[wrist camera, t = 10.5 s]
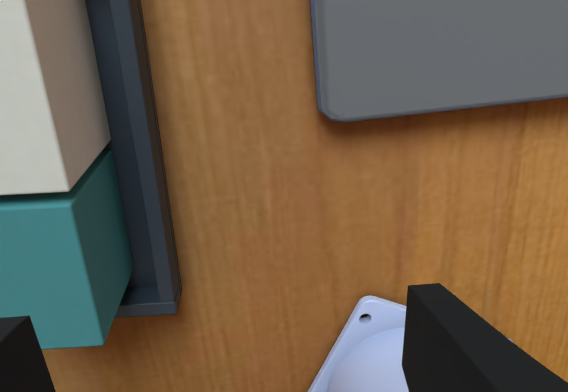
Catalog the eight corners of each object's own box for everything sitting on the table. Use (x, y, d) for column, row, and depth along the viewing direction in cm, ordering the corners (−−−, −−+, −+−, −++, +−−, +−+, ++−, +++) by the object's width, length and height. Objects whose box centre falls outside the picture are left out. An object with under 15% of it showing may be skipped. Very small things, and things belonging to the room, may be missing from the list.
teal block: (134, 267, 20) (104, 346, 16) (32, 273, 19) (-26, 355, 15) (112, 149, 17) (70, 204, 13) (-3, 154, 17) (-81, 212, 13)
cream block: (112, 139, 17) (69, 193, 13) (-4, 145, 17) (-83, 200, 13) (83, -14, 15) (22, -8, 11) (-50, -10, 15) (-161, -2, 11)
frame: (182, 290, 21) (176, 314, 19) (7, 300, 20) (-12, 326, 19) (131, -65, 15) (118, -68, 14) (-111, -57, 15) (-151, -60, 13)
